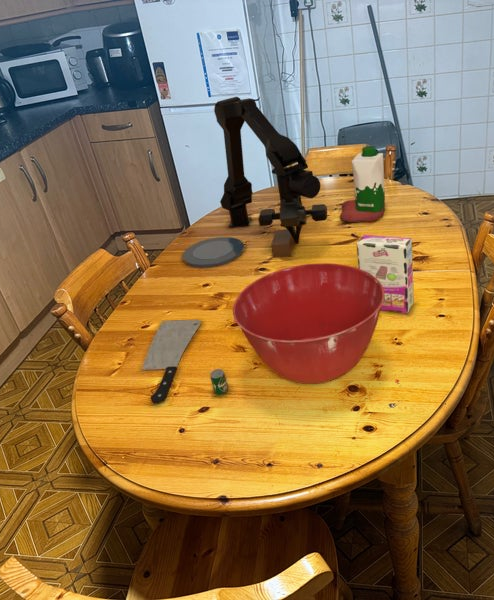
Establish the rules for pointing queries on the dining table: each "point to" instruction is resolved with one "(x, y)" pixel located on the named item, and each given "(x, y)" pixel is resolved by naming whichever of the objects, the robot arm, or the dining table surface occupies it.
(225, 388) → the beer can
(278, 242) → the block
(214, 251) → the plate
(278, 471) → the dining table surface
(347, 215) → the food model
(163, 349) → the cleaver
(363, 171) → the milk carton
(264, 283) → the mixing bowl
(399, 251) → the candy bar box
